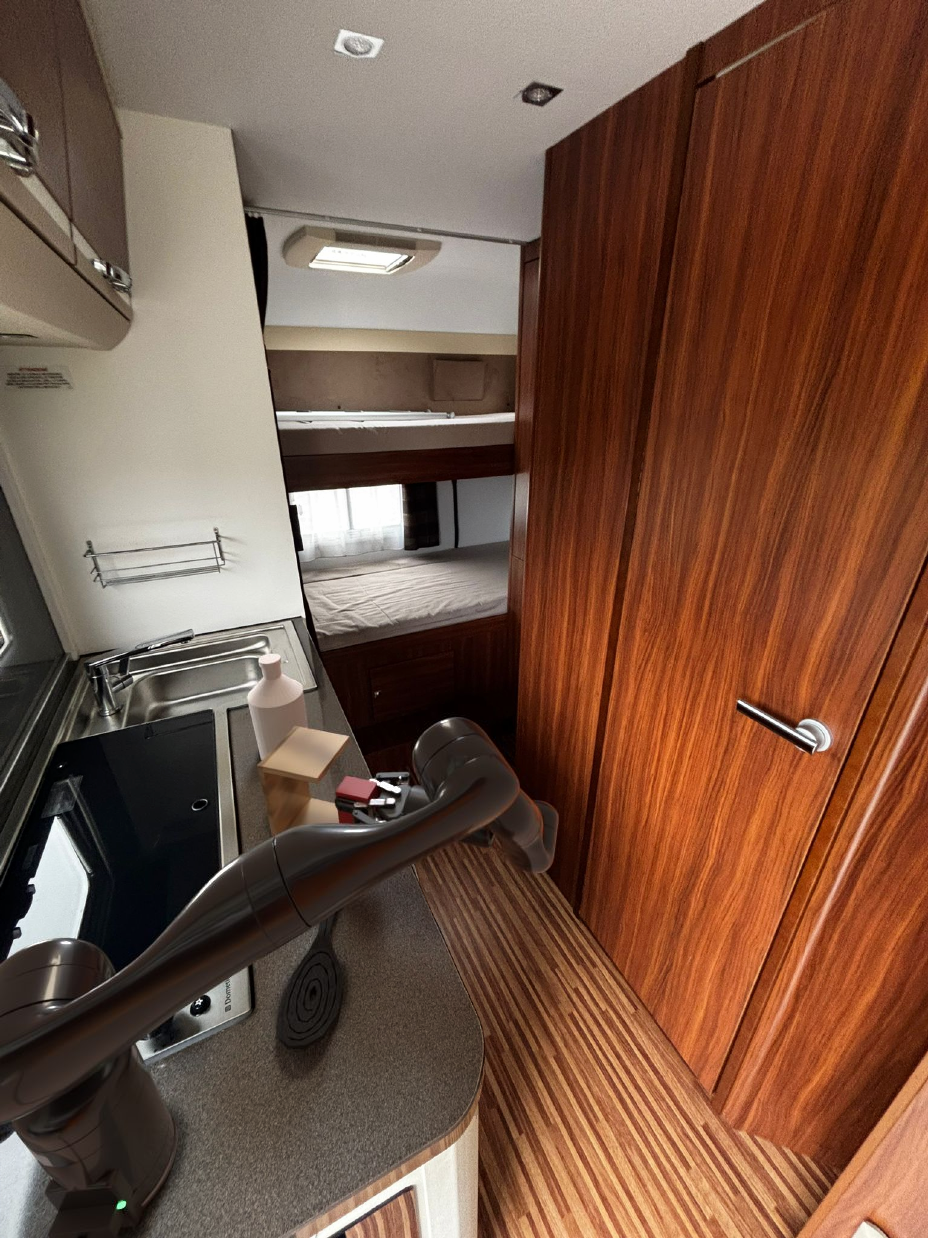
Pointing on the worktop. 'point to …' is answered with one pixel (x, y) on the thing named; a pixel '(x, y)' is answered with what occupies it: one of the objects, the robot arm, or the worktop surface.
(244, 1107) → the worktop surface
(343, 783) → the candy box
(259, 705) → the bottle
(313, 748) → the shelf unit
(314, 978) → the hairbrush
